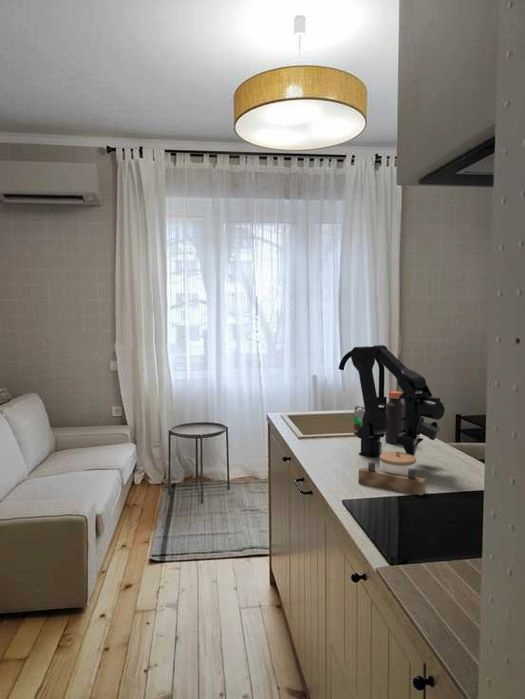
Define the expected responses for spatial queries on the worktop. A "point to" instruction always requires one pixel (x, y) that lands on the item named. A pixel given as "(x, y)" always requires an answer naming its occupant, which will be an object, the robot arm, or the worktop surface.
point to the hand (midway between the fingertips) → (411, 460)
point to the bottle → (394, 416)
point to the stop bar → (392, 480)
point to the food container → (358, 418)
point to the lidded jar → (397, 462)
